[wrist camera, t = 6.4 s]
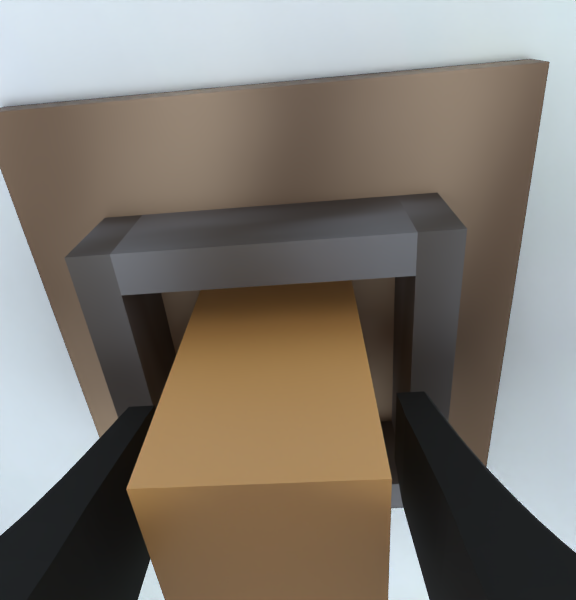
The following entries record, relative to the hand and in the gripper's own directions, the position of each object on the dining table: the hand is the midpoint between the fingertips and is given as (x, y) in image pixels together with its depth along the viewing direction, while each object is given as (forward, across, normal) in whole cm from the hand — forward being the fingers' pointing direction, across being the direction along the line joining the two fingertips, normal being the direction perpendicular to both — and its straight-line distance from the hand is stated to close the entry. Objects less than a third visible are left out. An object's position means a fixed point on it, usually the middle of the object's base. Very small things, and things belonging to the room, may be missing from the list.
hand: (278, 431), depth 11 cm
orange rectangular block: (+4, 0, 0) cm, 4 cm away
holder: (+5, 0, 0) cm, 5 cm away
